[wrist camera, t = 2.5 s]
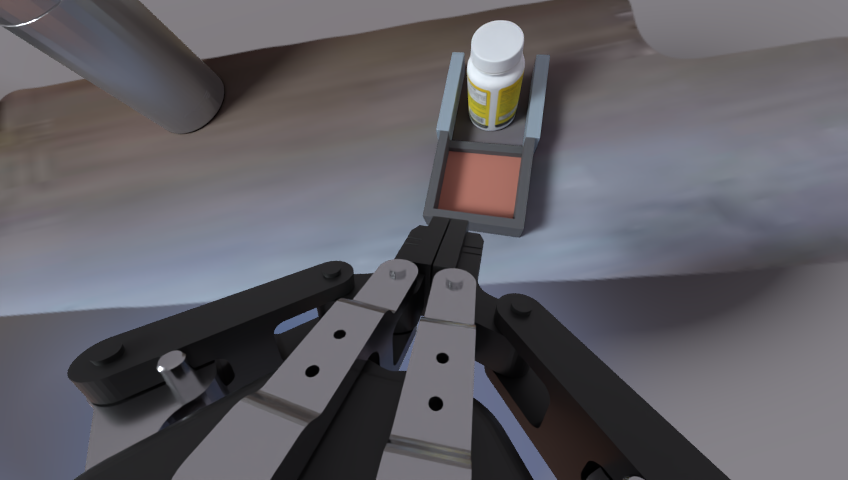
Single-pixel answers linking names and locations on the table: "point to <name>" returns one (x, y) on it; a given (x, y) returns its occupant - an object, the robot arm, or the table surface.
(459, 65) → the trough
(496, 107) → the supplement bottle
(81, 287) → the table surface
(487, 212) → the trap bin
